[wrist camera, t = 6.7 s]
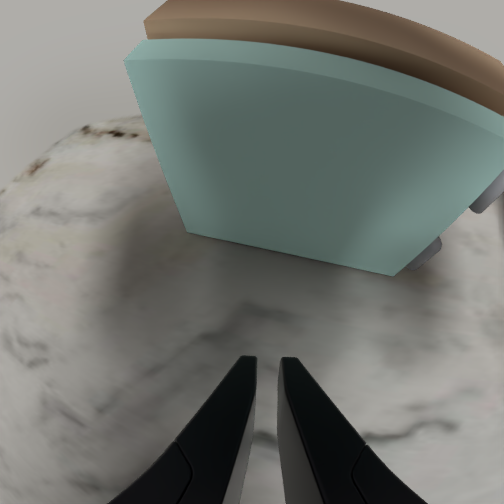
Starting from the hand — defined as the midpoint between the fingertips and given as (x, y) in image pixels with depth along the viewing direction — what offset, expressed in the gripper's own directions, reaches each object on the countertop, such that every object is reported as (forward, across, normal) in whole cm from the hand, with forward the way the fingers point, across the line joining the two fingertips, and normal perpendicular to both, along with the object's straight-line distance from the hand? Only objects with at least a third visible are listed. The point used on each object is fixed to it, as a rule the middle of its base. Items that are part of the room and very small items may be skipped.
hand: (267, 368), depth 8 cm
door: (+9, -2, 0) cm, 10 cm away
